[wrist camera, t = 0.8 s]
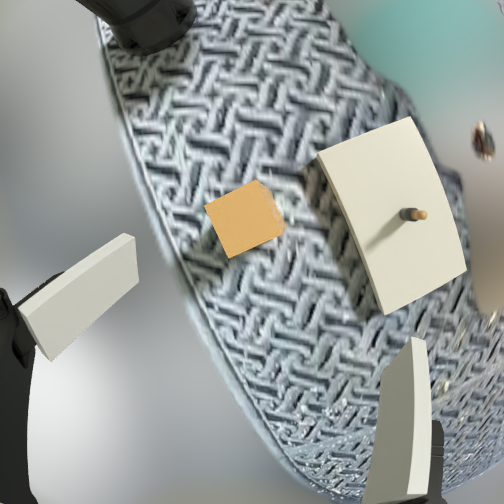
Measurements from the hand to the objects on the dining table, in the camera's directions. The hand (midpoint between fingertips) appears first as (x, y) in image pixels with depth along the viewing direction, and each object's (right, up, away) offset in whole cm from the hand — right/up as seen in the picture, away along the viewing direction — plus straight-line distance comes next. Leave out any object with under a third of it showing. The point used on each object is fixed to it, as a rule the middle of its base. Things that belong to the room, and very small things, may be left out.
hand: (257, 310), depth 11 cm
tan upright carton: (+1, +7, +24) cm, 25 cm away
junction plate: (+19, +8, +21) cm, 29 cm away
